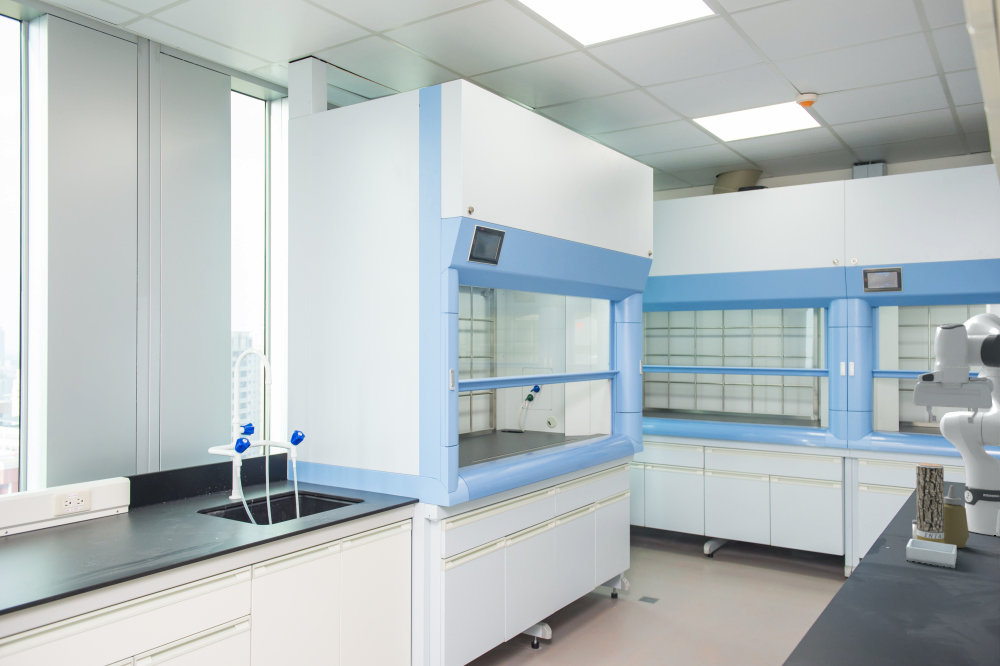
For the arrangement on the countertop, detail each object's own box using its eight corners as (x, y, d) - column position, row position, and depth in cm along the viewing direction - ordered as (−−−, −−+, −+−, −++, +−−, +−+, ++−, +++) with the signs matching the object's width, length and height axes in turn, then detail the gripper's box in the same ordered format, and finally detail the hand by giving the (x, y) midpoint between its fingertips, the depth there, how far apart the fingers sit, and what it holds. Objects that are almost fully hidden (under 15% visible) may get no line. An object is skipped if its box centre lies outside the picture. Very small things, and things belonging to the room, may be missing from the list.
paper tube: (911, 547, 204) (911, 462, 205) (933, 546, 205) (932, 462, 206) (927, 553, 197) (927, 466, 198) (949, 553, 198) (949, 466, 199)
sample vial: (920, 539, 214) (920, 519, 214) (926, 541, 211) (926, 522, 211) (910, 538, 214) (909, 519, 214) (916, 541, 211) (916, 521, 211)
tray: (910, 551, 199) (910, 538, 199) (956, 558, 192) (956, 545, 192) (906, 560, 190) (906, 546, 190) (954, 568, 183) (954, 554, 183)
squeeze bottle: (974, 550, 201) (973, 489, 202) (943, 548, 203) (943, 487, 204) (961, 543, 209) (961, 484, 210) (932, 541, 211) (932, 482, 212)
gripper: (993, 377, 205) (994, 423, 204) (913, 375, 217) (914, 419, 216) (993, 377, 200) (994, 425, 199) (912, 375, 211) (912, 420, 211)
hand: (951, 422), depth 208 cm, fingers open, 8 cm apart
